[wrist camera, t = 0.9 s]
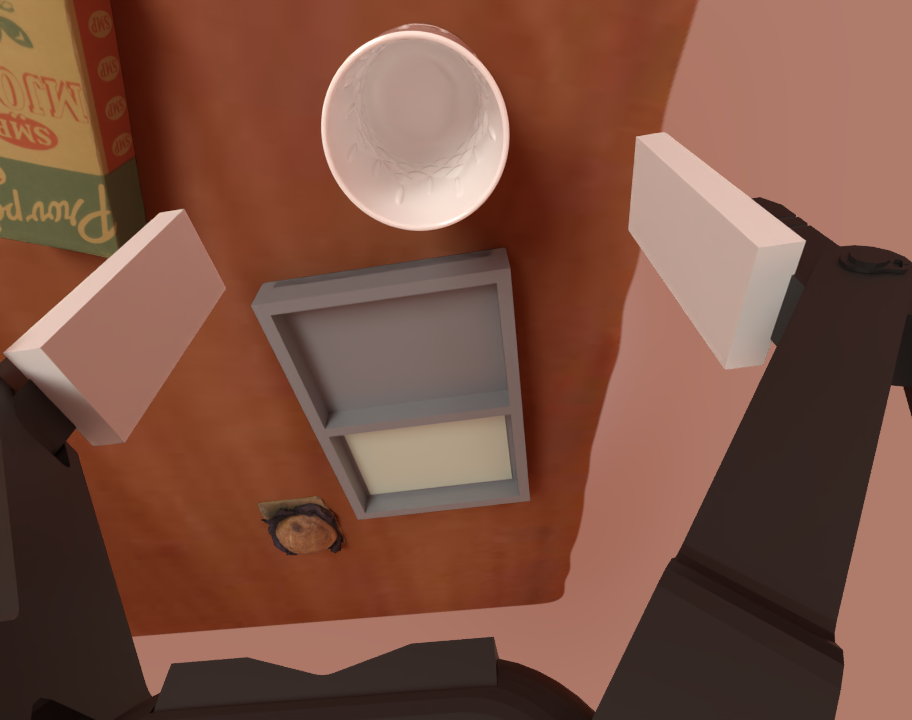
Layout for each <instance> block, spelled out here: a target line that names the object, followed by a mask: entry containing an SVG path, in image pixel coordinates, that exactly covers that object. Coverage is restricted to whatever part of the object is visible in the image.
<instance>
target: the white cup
mask: <svg viewBox="0 0 912 720" xmlns="http://www.w3.org/2000/svg"><path fill="white" fill-rule="evenodd" d="M321 132H322V142H323V148H324V152H325V156H326V159H327V162H328V165H329V167H330V170H331V172H332V174H333V176H334V178H335V180H336V181H337V183H338V185H339V186H340V188H341V189H342V190H343V192H344V193H345V194H346V196H347V197H348V198H349V199H350V200H351V201H352V202H353V203H354V204H355V205H356V206H357V207H358V208H360V209H361V210H362V211H363V212H365V213H366V214H367V215H369V216H371V217H372V218H374V219H376V220H378V221H380V222H382V223H384V224H387V225H389V226H392V227H396V228H400V229H404V230H412V231H427V230H435V229H440V228H444V227H447V226H450V225H452V224H455V223H457V222H459V221H461V220H463V219H464V218H466V217H467V216H469V215H470V214H472V213H473V212H474V211H476V210H477V209H478V208H479V207H480V206H481V205H482V204H483V203H484V202H485V201H486V200H487V198H488V197H489V196H490V195H491V193H492V192H493V190H494V189H495V187H496V185H497V184H498V182H499V180H500V178H501V175H502V173H503V170H504V167H505V164H506V160H507V156H508V150H509V138H510V133H509V121H508V115H507V110H506V106H505V103H504V100H503V97H502V95H501V92H500V90H499V88H498V86H497V84H496V82H495V80H494V79H493V77H492V76H491V74H490V73H489V71H488V70H487V69H486V67H485V66H484V65H483V64H482V63H481V61H480V60H479V59H478V57H477V56H476V55H475V54H474V52H473V51H472V50H471V49H470V48H469V47H468V46H467V45H466V44H464V43H463V42H462V41H461V40H460V39H459V38H457V37H456V36H454V35H453V34H451V33H450V32H448V31H446V30H444V29H442V28H439V27H436V26H432V25H429V24H426V23H425V24H407V25H403V26H399V27H396V28H393V29H390V30H388V31H386V32H384V33H382V34H380V35H379V36H377V37H376V38H374V39H373V40H371V41H369V42H367V43H366V44H364V45H363V46H361V47H360V48H358V49H357V50H356V51H355V52H354V53H352V54H351V55H350V56H349V57H348V58H347V59H346V61H345V62H344V63H343V64H342V65H341V67H340V68H339V70H338V71H337V73H336V74H335V76H334V78H333V80H332V82H331V84H330V86H329V88H328V91H327V94H326V97H325V101H324V105H323V110H322V120H321Z"/></svg>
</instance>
